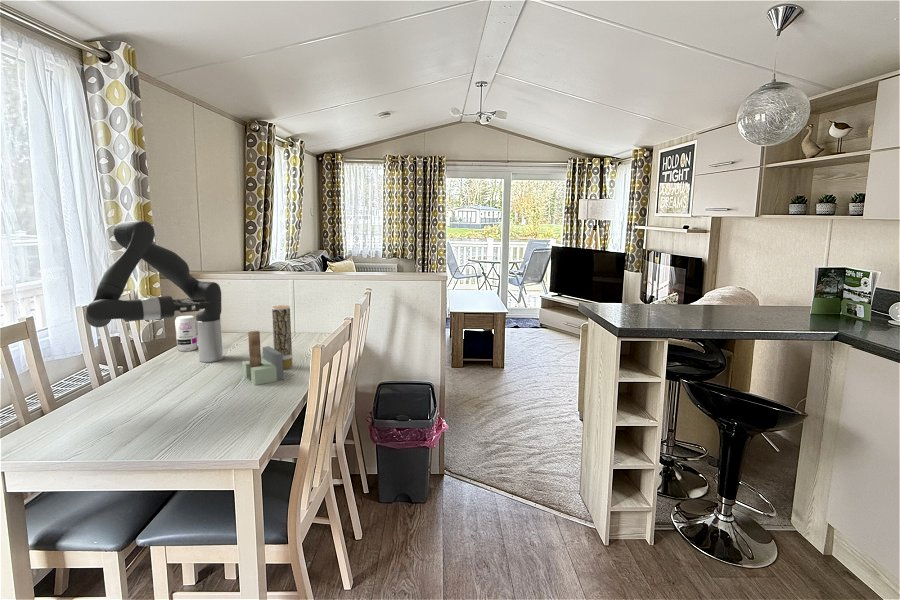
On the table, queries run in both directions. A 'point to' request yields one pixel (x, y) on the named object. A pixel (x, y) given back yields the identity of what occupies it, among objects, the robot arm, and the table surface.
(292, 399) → the table surface
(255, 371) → the cradle
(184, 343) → the supplement can
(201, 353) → the robot arm
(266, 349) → the wall
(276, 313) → the brown bark cylinder
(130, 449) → the table surface
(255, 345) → the brown banded cylinder
